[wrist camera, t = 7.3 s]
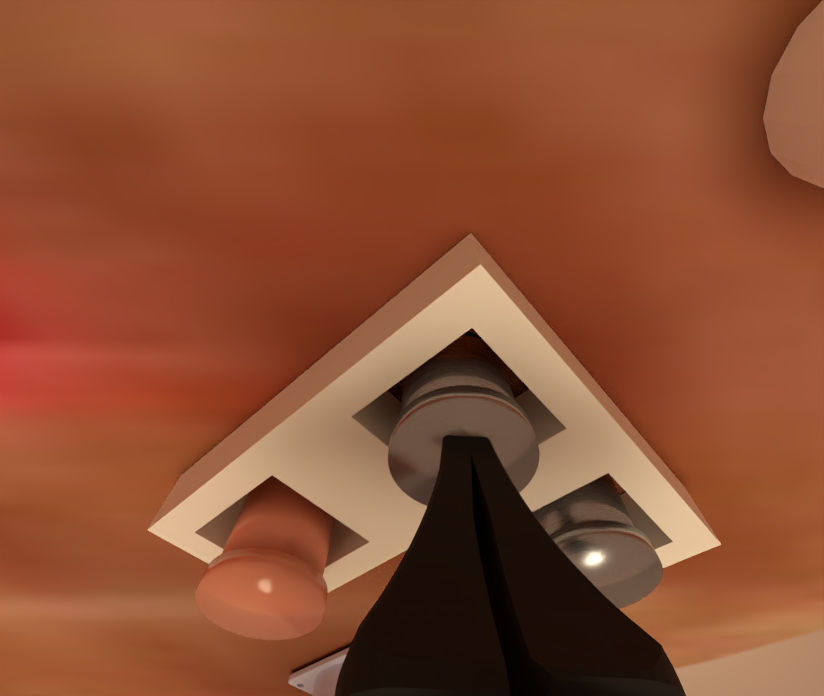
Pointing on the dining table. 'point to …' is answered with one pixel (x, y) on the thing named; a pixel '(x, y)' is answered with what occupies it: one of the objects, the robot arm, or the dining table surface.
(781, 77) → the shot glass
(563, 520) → the metal plug
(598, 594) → the robot arm
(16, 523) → the dining table surface
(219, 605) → the terracotta plug
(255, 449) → the socket block
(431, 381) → the metal plug
